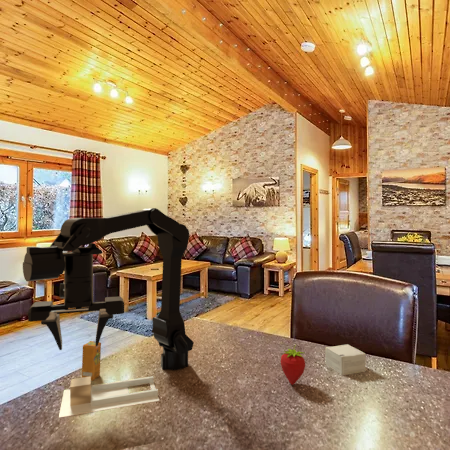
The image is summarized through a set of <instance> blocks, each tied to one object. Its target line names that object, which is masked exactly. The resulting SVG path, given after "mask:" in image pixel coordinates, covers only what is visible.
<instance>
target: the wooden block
mask: <svg viewBox="0 0 450 450" xmlns="http://www.w3.org/2000/svg"><path fill="white" fill-rule="evenodd" d="M70 380H71V381H70V385H69V386H70V387H69V389H70V406H73V405H79V404H85V403H91V386H92V381H91V376H90V377H83V378H82V377H76V378H71V379H70Z"/></svg>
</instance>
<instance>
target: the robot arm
mask: <svg viewBox="0 0 450 450" xmlns="http://www.w3.org/2000/svg"><path fill="white" fill-rule="evenodd" d="M144 226H146V227H147V228H148V229H149V230H150V231H151V233H153V234H154V235H155V236H157V243H158V248H159V250H160V253H161V255H162V273H161V275H162V277H161V279H162V280H161V305H160V312H159V313H158V315H157V317H156V316H154V317H152V328H151V333H152V334H153V338H154V339H155V340H156V342H157V343H158V346H159V347H161V348H162V353H161V354H160V367H161V370H165V371H167V370H169V371H179V370H183V369H185V368H188V367H189V352H190V351H192V350H193V346H194V344H195V343H194V340H192V339H191V337H189V336H188V335H187V334H186V327H185V321H184V319H183V316H182V314H181V288H182V287H181V284H182V283H181V282H182V260H183V256H184V254H185V253H186V251H187V249H188V245H189V240H190V230H189V228H187V226H186V225H184V224H183V223H179V222H178V221H177V220H176V219H174V218H172V217H170V216H168V215H166V214H165V213H164V212H163V211H161V210H159V209H158V208H156V207H155V208H154V207H150V208H143V209H141V210H135V211H131V212H125V213H121V214H116V215H110V216H105V217H72V218H71V217H70V218H68V219H65V220H64V222H63V223H62V224H61V228H60V231H59V234H58V235H57V237H56V238H55V239H54V240H53V242H52V243H51V244H50V246H41V247H40V246H26V253H25V255H24V259H23V262H22V274H23V278H24V280H25V282H36V281H44V280H45V281H46V280H53V279H54V280H55V279H59V277H60V276H61V275H63V276H64V279H63V281H64V282H63V283H60V284H59V296H58V297H59V298H60V299H63V300H64V301H63V302H64V304H55V305H54V303H53V300H49V301H35V302H34V303H32V305H30V306H29V307H30V308H28V312H27V313H28V314H27V318H28V319H27V321H28V322H40V325H45V326H46V327H47V328H48V330H49V331H50V333H51V334H52V336H53V338H54V341H55V343H56V345H57V348H58V350H59V351H62V350H63V337H62V329H61V321H60V320H61V319H60V318H61V317H60V315H61V314H63V315H64V314H75V313H88V312H98V319H97V324H96V325H97V326H96V332H95V333H96V334H95V342H96V346H98V343H99V342H100V339H101V337H102V335H103V332H104V329H105V327H106V325H107V323H108V321H109V320H110V319H111V320H112V319H114V315H122V314H125V300H124V298H123V297H122V296H108V297H105V298H104V301H96V302H94V269H93V267H94V262H93V259H94V255H102V254H103V250H101V249H100V248H99V247H98V245H96V243H95V242H97V241H100V240H102V239H104V238H105V237H106V236H108V235H110V234H113V233H117V232H118V233H119V232H123V231H127V230H131V229H136V228H140V227H144Z"/></svg>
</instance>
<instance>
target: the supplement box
mask: <svg viewBox="0 0 450 450" xmlns="http://www.w3.org/2000/svg"><path fill="white" fill-rule="evenodd" d="M101 350H102V342H100V341H99V343H98V346H96V340H95V341H94V340H93V341H92V340H89V341H88V342H87V343H84V344H83V345H82V359H81V361H82V362H81V363H82V364H81V378H83V377H90V376H91V382H92V381H95V380H96V379H98V377H100V375H101V356H102V355H101V352H102V351H101Z"/></svg>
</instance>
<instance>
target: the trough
mask: <svg viewBox="0 0 450 450" xmlns="http://www.w3.org/2000/svg"><path fill="white" fill-rule="evenodd" d="M154 381H155V380H154V376H153V375H151V376H145V377H139V378H132V379H123V380H118V381H111V382H110V381H109V382H104V383H97V384H91V403H85V404H79V405H73V406H70V388H68V389H64V390H63V394H62V398H61V405H60V408H59V415H58V418H65V417H71V416H77V415H83V414H89V413H94V412H101V411H107V410H113V409H114V410H115V409H118V408H125V407H131V406H134V405H135V406H136V405H142V404H147V403H148V404H149V403H155V402H160V398H159V389H158V388H156V386H155V383H154ZM147 384H149V387H150V389H149V390H148V389H146V390H142V391H134V392H130V391H129V387H134V386H140V385H147Z"/></svg>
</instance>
